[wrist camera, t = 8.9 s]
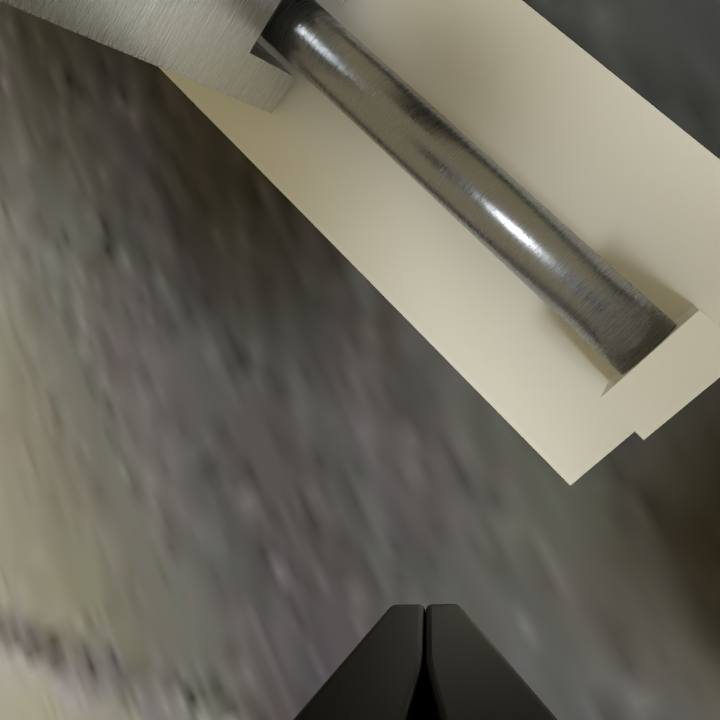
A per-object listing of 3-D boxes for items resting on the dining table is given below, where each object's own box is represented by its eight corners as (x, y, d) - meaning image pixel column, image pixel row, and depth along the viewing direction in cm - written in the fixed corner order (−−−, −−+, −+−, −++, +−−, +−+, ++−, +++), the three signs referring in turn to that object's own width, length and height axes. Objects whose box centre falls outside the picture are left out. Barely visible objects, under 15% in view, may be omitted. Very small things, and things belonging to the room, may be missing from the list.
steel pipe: (679, 319, 17) (681, 324, 15) (621, 371, 17) (615, 383, 16) (155, -149, 22) (110, -186, 20) (128, -92, 23) (82, -124, 21)
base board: (835, 258, 16) (876, 254, 13) (573, 479, 20) (556, 517, 16) (204, -253, 22) (130, -338, 19) (87, -12, 25) (8, -52, 22)
